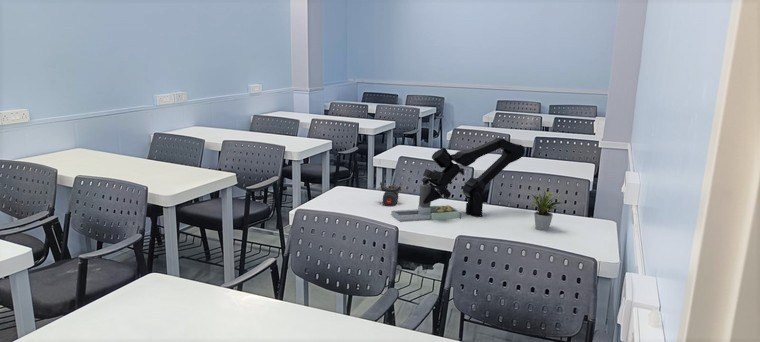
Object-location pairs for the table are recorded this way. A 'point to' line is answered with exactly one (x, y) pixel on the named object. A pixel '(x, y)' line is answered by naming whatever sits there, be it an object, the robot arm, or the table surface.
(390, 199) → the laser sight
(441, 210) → the brass sphere
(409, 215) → the slot rail
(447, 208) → the gold ball
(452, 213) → the tray
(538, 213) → the house plant
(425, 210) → the tall gray pillar
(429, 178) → the robot arm
